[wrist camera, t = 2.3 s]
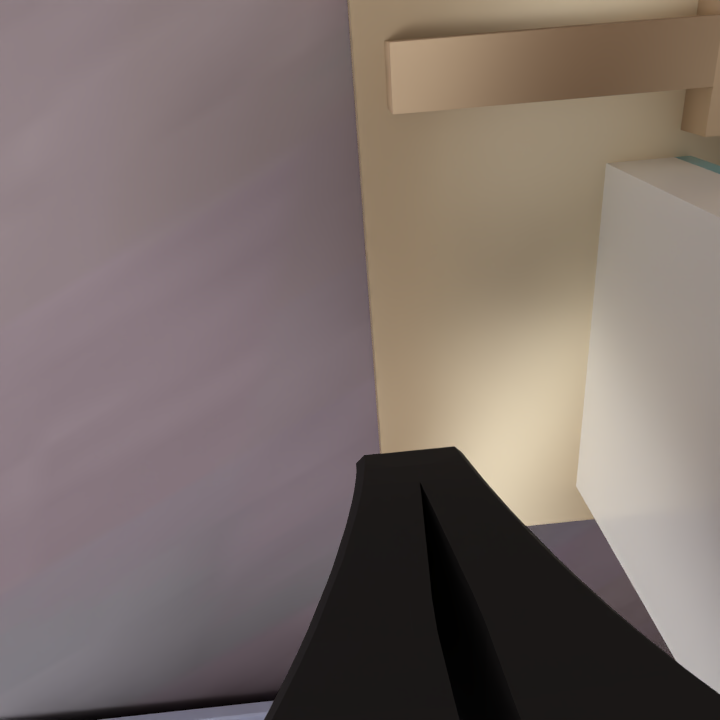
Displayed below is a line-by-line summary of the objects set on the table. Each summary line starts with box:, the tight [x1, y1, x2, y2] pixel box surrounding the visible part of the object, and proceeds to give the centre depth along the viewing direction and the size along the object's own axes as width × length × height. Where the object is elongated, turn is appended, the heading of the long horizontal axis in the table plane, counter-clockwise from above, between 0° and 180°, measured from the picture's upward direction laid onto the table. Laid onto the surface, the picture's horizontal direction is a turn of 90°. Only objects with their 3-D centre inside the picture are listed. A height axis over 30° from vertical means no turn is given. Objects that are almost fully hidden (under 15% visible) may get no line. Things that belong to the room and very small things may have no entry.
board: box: [347, 0, 720, 526], centre depth 13 cm, size 13×11×1 cm
